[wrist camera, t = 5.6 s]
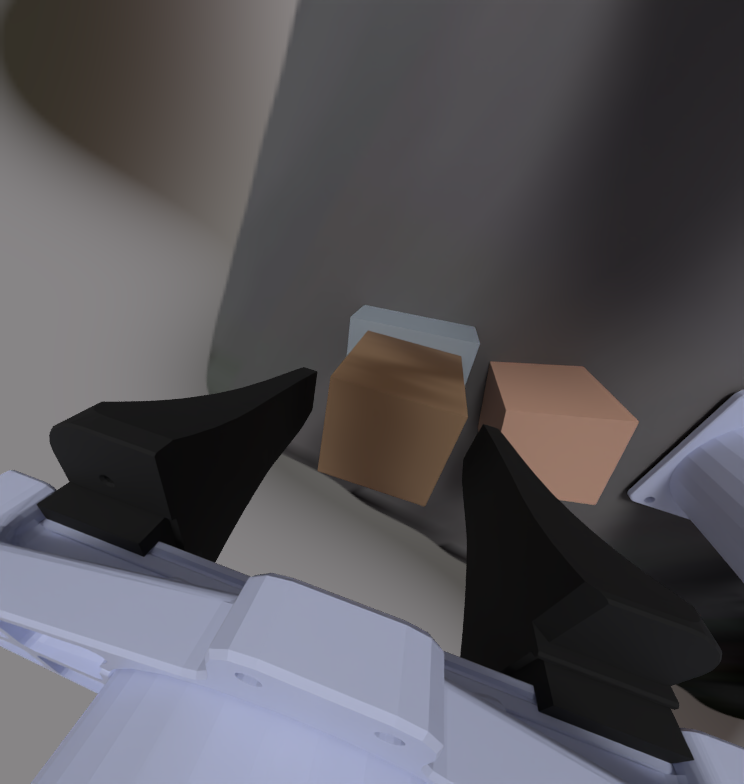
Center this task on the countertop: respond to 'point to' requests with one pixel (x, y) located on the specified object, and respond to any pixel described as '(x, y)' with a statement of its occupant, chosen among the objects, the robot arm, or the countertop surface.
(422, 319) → the plinth block
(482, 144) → the countertop surface
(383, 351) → the walnut block
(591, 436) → the terracotta block
